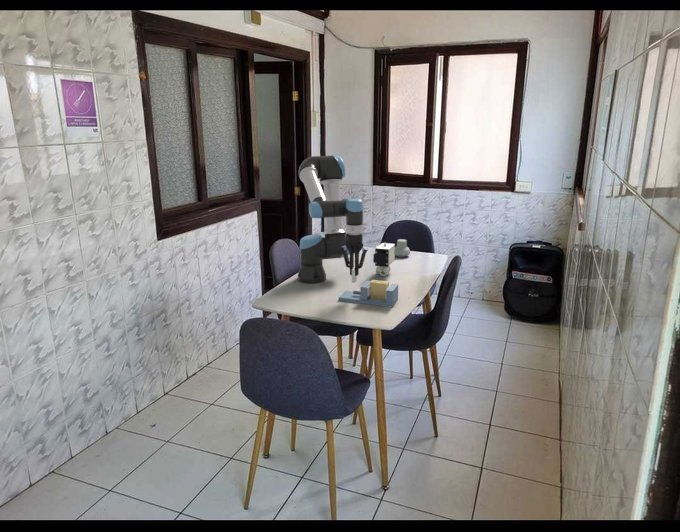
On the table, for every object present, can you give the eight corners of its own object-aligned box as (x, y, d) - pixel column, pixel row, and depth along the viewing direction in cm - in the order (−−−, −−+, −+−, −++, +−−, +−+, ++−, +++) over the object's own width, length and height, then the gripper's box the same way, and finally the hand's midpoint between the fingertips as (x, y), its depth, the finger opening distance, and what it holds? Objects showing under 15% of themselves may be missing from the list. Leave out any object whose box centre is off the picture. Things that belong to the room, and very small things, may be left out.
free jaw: (350, 298, 226) (350, 285, 225) (356, 291, 235) (356, 279, 234) (367, 300, 223) (367, 287, 222) (374, 293, 232) (374, 281, 231)
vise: (338, 300, 229) (338, 285, 227) (345, 293, 238) (345, 278, 236) (392, 306, 220) (392, 291, 218) (398, 299, 229) (398, 284, 227)
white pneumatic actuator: (380, 269, 276) (381, 238, 272) (395, 270, 274) (396, 239, 269) (371, 278, 260) (371, 246, 255) (386, 280, 257) (387, 247, 252)
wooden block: (369, 298, 226) (369, 282, 224) (372, 295, 230) (372, 279, 227) (386, 300, 223) (386, 284, 221) (388, 297, 227) (389, 281, 225)
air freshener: (411, 257, 300) (411, 241, 297) (398, 258, 298) (398, 242, 295) (404, 253, 310) (405, 238, 307) (392, 254, 308) (392, 238, 305)
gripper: (338, 233, 222) (338, 282, 229) (365, 236, 217) (364, 286, 225) (343, 230, 229) (344, 277, 236) (370, 232, 224) (369, 280, 231)
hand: (354, 281), depth 230 cm, fingers closed
